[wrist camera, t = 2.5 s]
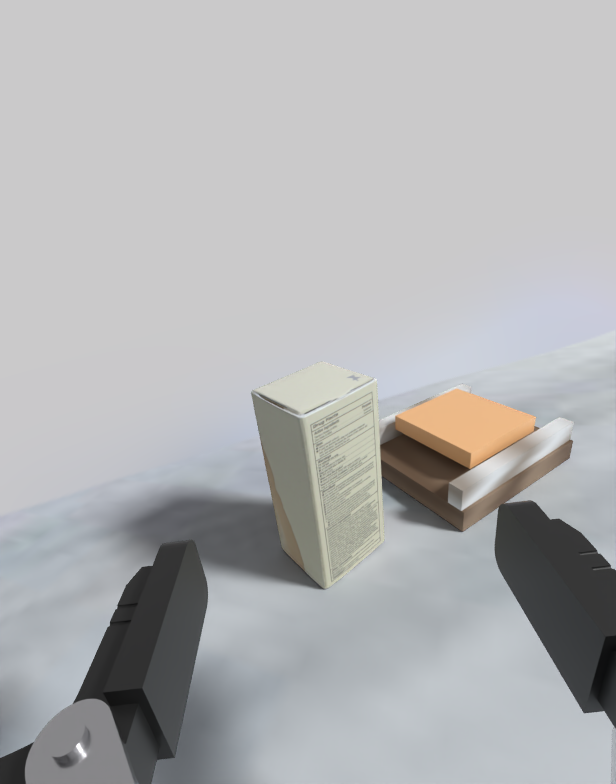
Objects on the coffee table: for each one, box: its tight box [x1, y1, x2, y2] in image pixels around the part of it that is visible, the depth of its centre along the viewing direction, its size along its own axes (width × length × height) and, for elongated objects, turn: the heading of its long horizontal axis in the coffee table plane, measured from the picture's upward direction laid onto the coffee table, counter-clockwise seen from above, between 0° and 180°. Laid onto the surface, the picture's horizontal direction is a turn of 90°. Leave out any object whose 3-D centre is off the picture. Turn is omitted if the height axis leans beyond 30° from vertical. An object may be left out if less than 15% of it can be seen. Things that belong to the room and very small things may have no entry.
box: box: [251, 362, 384, 589], centre depth 22 cm, size 5×4×11 cm
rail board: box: [379, 384, 574, 532], centre depth 31 cm, size 12×10×3 cm
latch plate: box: [395, 389, 536, 469], centre depth 30 cm, size 7×7×1 cm
